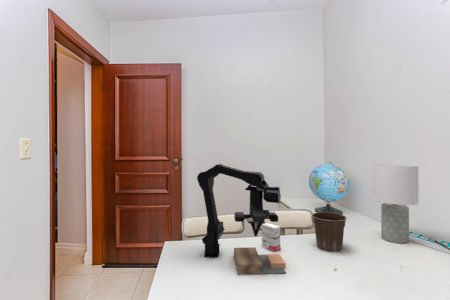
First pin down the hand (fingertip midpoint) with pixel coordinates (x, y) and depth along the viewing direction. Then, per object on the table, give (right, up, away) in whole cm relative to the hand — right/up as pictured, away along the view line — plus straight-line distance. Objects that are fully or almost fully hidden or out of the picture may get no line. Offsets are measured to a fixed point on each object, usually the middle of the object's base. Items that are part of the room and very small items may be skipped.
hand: (255, 236), depth 106 cm
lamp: (+81, -12, +28) cm, 87 cm away
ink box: (+10, -12, +16) cm, 22 cm away
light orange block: (+9, -9, -2) cm, 13 cm away
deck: (-4, -12, -2) cm, 12 cm away
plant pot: (+40, -12, +17) cm, 45 cm away
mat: (+6, -12, -2) cm, 13 cm away
